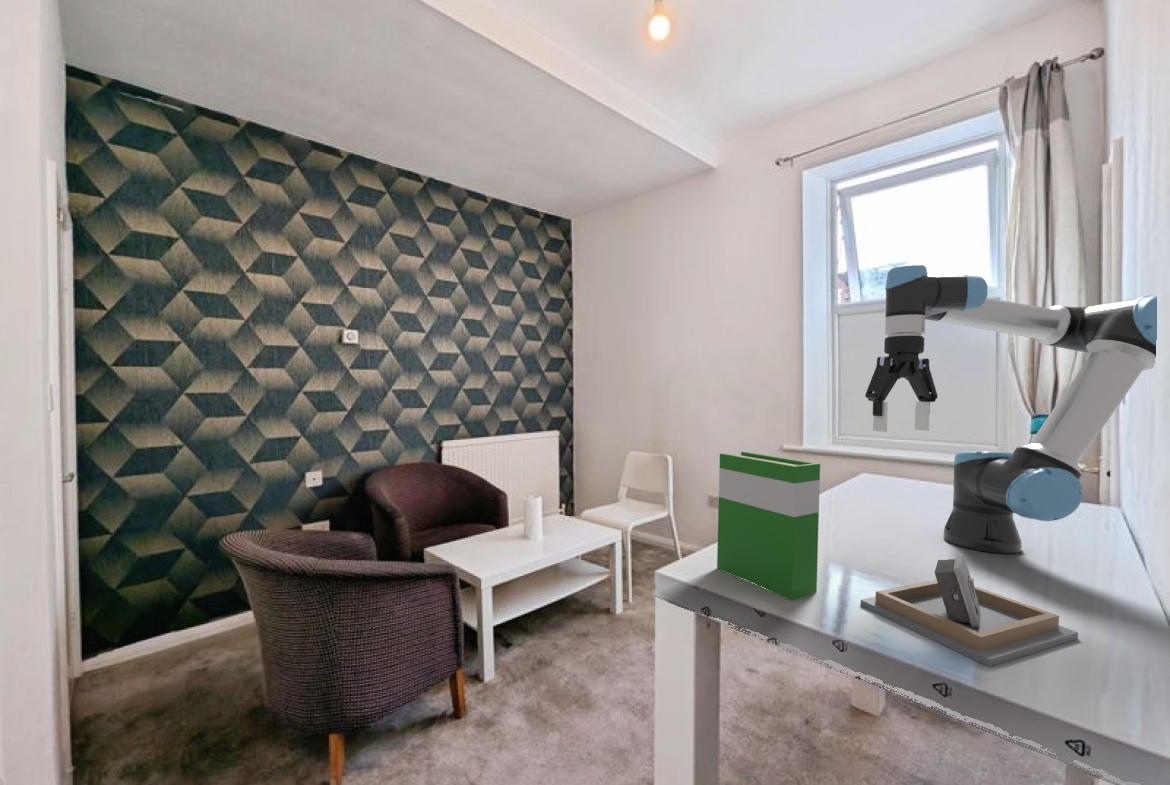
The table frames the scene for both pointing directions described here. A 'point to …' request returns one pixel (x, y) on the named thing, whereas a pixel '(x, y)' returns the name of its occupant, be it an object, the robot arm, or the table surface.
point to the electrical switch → (958, 590)
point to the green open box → (769, 522)
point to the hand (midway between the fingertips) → (901, 430)
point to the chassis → (1000, 630)
